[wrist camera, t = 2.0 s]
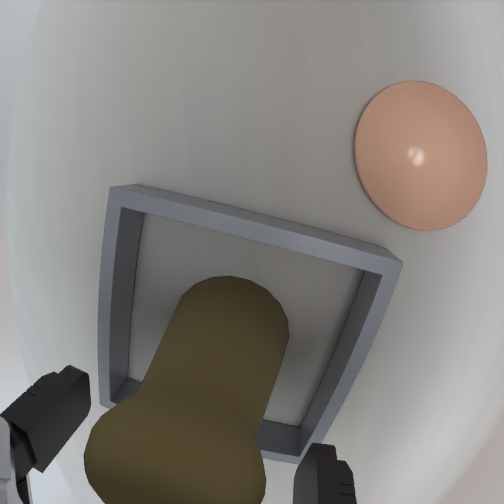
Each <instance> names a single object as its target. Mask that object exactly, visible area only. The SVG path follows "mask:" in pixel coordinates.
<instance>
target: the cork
mask: <svg viewBox="0 0 504 504" xmlns="http://www.w3.org/2000/svg"><path fill="white" fill-rule="evenodd" d="M288 339H289V330H288V320H287V318H286V315H285V313H284V311H283V309H282V307H281V305H280V303H279V302H278V301H277V300H276V299H275V298H274V297H273V296H272V295H271V294H270V293H269V292H268V291H267V290H266V289H264V288H263V287H261V286H259V285H257V284H256V283H254V282H252V281H250V280H247V279H242V278H238V277H233V276H222V277H211V278H209V279H206V280H204V281H201V282H199V283H197V284H195V285H193V286H192V287H191V288H190V289H189V290H188V291H187V292H186V293H185V294H184V295H183V296H182V298H181V300H180V302H179V304H178V306H177V308H176V310H175V312H174V314H173V316H172V318H171V320H170V323H169V325H168V327H167V329H166V331H165V333H164V336H163V338H162V340H161V342H160V344H159V347H158V349H157V351H156V353H155V355H154V358H153V360H152V362H151V364H150V367H149V369H148V371H147V373H146V376H145V378H144V380H143V383H142V385H141V387H140V389H139V392H138V394H137V395H136V396H131V397H127V398H126V399H124V400H123V401H121V402H120V403H118V404H117V405H115V406H114V407H113V408H111V409H110V410H109V411H107V412H106V413H105V414H103V415H102V416H101V417H100V418H99V420H98V421H97V422H96V424H95V425H94V426H93V427H92V430H91V433H90V436H89V439H88V442H87V445H86V449H85V452H84V466H85V473H86V476H87V479H88V482H89V484H90V485H91V487H92V488H93V489H94V491H95V492H96V493H97V494H98V496H99V497H100V498H101V500H102V501H103V502H104V503H105V504H261V502H262V500H263V498H264V495H265V487H266V476H265V470H264V465H263V460H262V455H261V451H260V448H259V446H258V445H257V444H256V442H255V438H256V436H257V433H258V430H259V427H260V424H261V422H262V419H263V416H264V413H265V410H266V407H267V404H268V401H269V398H270V396H271V393H272V390H273V387H274V384H275V381H276V377H277V374H278V371H279V368H280V365H281V362H282V359H283V356H284V353H285V349H286V346H287V342H288Z"/></svg>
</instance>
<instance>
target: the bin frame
mask: <svg viewBox="0 0 504 504" xmlns="http://www.w3.org/2000/svg"><path fill="white" fill-rule="evenodd" d="M144 213H148V214H152V215H156V216H160V217H164V218H168V219H172V220H176V221H180V222H184V223H188V224H192V225H196V226H199V227H203V228H207V229H211V230H215V231H219V232H223V233H227V234H230V235H234V236H238V237H242V238H246V239H250V240H253V241H257V242H261V243H265V244H269V245H272V246H276V247H280V248H284V249H288V250H291V251H295V252H299V253H303V254H306V255H310V256H314V257H318V258H321V259H325V260H329V261H333V262H336V263H340V264H344V265H347V266H351V267H355V268H358V269H362V270H365V272H364V275H363V278H362V281H361V283H360V286H359V289H358V292H357V295H356V297H355V300H354V303H353V306H352V308H351V311H350V314H349V316H348V319H347V322H346V324H345V327H344V329H343V332H342V334H341V337H340V339H339V342H338V344H337V347H336V349H335V352H334V354H333V356H332V359H331V361H330V363H329V366H328V368H327V370H326V373H325V375H324V377H323V379H322V382H321V384H320V386H319V388H318V391H317V393H316V395H315V397H314V399H313V401H312V403H311V406H310V408H309V410H308V412H307V414H306V416H305V418H304V420H303V422H302V424H301V426H300V428H299V427H294V426H289V425H284V424H279V423H274V422H269V421H265V420H262V422H261V424H260V427H259V430H258V433H257V436H256V438H255V442H256V444H257V445H258V446H259V448H260V451H261V455H262V458H266V459H271V460H276V461H282V462H287V463H293V464H300V462H301V461H302V459H303V457H304V456H305V454H306V452H307V450H308V449H309V447H310V445H311V444H312V443H313V442H314V443H321V442H322V440H323V439H324V437H325V435H326V433H327V432H328V430H329V428H330V426H331V425H332V423H333V421H334V419H335V417H336V416H337V414H338V412H339V410H340V408H341V406H342V404H343V403H344V401H345V399H346V397H347V395H348V393H349V391H350V389H351V387H352V385H353V383H354V381H355V379H356V377H357V375H358V373H359V371H360V369H361V366H362V364H363V362H364V360H365V358H366V356H367V353H368V351H369V349H370V347H371V345H372V342H373V340H374V338H375V335H376V333H377V331H378V328H379V326H380V324H381V321H382V319H383V316H384V314H385V311H386V309H387V306H388V304H389V301H390V299H391V296H392V293H393V291H394V288H395V285H396V283H397V280H398V277H399V274H400V271H401V269H402V266H403V262H402V261H401V260H399V259H398V258H397V257H396V256H395V255H394V254H392V253H391V252H390V251H389V250H388V249H386V248H383V247H379V246H376V245H373V244H369V243H366V242H362V241H359V240H355V239H352V238H348V237H345V236H341V235H338V234H334V233H331V232H327V231H323V230H320V229H316V228H312V227H309V226H305V225H301V224H298V223H294V222H290V221H286V220H283V219H279V218H275V217H271V216H267V215H263V214H259V213H256V212H252V211H248V210H244V209H240V208H236V207H232V206H228V205H224V204H219V203H215V202H211V201H207V200H203V199H199V198H195V197H190V196H186V195H182V194H177V193H173V192H169V191H164V190H160V189H155V188H151V187H146V186H142V185H137V184H133V185H125V186H116V187H110V191H109V198H108V205H107V212H106V220H105V228H104V237H103V246H102V257H101V269H100V284H99V305H98V375H99V396H100V405H102V406H104V407H107V408H109V409H111V408H113V407H114V406H115V405H117V404H118V403H120V402H121V401H123V400H124V399H126V398H127V397H131V396H136V395H137V394H138V392H139V389H140V387H141V385H142V383H139V382H137V381H134V380H132V379H129V378H128V355H129V338H130V323H131V311H132V300H133V290H134V280H135V271H136V263H137V255H138V248H139V241H140V234H141V227H142V221H143V215H144Z"/></svg>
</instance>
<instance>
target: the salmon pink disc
mask: <svg viewBox="0 0 504 504" xmlns="http://www.w3.org/2000/svg"><path fill="white" fill-rule="evenodd" d="M354 160H355V165H356V170H357V173H358V176H359V179H360V182H361V184H362V186H363V188H364V190H365V192H366V193H367V195H368V196H369V198H370V199H371V201H372V202H373V203H374V204H375V206H376V207H377V208H378V209H379V210H380V211H381V212H383V213H384V214H385V215H386V216H388V217H389V218H391V219H392V220H394V221H396V222H398V223H400V224H402V225H404V226H406V227H409V228H412V229H416V230H423V231H436V230H440V229H444V228H447V227H450V226H452V225H454V224H456V223H458V222H459V221H460V220H462V219H463V218H464V217H465V216H466V215H467V214H468V213H469V212H470V211H471V210H472V209H473V207H474V206H475V205H476V203H477V201H478V200H479V198H480V196H481V193H482V191H483V188H484V185H485V181H486V175H487V151H486V145H485V141H484V138H483V134H482V132H481V129H480V127H479V125H478V123H477V121H476V119H475V118H474V116H473V115H472V113H471V112H470V110H469V109H468V108H467V107H466V106H465V104H464V103H463V102H462V101H461V100H460V99H458V98H457V97H456V96H455V95H453V94H452V93H451V92H449V91H448V90H446V89H444V88H442V87H440V86H438V85H435V84H432V83H428V82H423V81H406V82H401V83H397V84H395V85H392V86H390V87H388V88H387V89H385V90H383V91H382V92H381V93H379V94H378V95H377V96H376V97H375V98H374V99H373V100H372V101H371V102H370V103H369V104H368V105H367V107H366V108H365V110H364V111H363V113H362V115H361V117H360V119H359V121H358V125H357V128H356V131H355V138H354Z"/></svg>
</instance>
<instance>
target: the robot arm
mask: <svg viewBox="0 0 504 504" xmlns="http://www.w3.org/2000/svg"><path fill="white" fill-rule="evenodd" d="M90 407H91V397H90V383H89V375H88V373H86V372H84V371H82V370H79V369H77V368H75V367H73V366H71V365H68V366H66V367H65V368H64V369H63V370H62V371H61V372H60V373H59V374H58V373H56V372H52V373H49V374H47V375H44V376H42V377H41V378H40V379H38V380H37V381H36V382H35V383H34V384H33V386H31V387H30V388H28V389H27V391H26V392H24V393H23V394H22V395H21V396H20V397H19V398H18V399H16V401H14V402H13V403H12V404H11V405H10V406H9V407H8V408H7V409H6V410H5V411H3V412H2V413H1V414H0V504H33V501H32V494H31V487H30V479H29V473H28V472H29V471H30V470H31V469H32V467H33V468H35V469H37V470H38V471H40V472H41V473H43V472H44V471H45V469H46V468H47V467H48V465H49V464H50V463H51V461H52V460H53V459H54V458H55V456H56V455H57V454H58V453H59V451H60V450H61V449H62V447H63V446H64V445H65V444H66V442H67V441H68V440H69V438H70V437H71V436H72V435H73V433H74V432H75V431H76V430H77V428H78V427H79V426H80V425H81V423H82V422H83V421H84V420H85V418H86V417H87V415H88V413H89V411H90ZM293 504H357V501H356V497H355V487H354V479H353V472H352V471H351V469H350V468H349V466H348V464H347V463H346V461H341V460H337V455H336V448H335V446H334V445H328V444H321V443H314V442H313V443H312V444H311V445H310V447H309V449H308V450H307V452H306V454H305V456H304V457H303V459H302V461H301V462H300V464H299V466H298V468H297V470H296V473H295V477H294V489H293Z"/></svg>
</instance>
